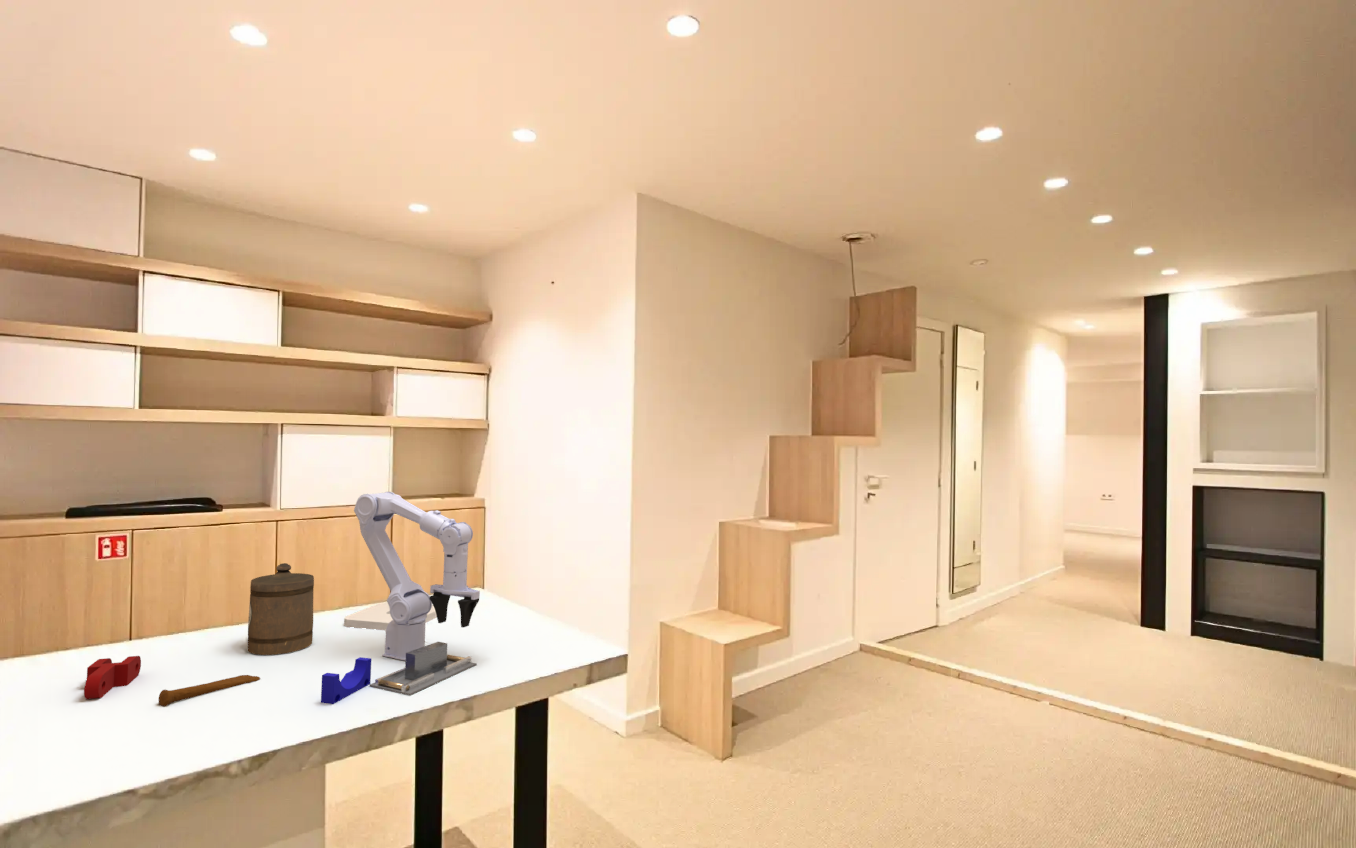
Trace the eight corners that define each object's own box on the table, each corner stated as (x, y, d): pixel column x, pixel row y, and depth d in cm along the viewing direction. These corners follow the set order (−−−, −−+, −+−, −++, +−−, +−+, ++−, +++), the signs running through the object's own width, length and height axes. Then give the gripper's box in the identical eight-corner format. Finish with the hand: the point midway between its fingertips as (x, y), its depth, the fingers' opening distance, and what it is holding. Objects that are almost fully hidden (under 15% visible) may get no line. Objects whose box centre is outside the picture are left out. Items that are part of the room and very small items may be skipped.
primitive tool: (247, 676, 153) (247, 661, 153) (262, 681, 151) (263, 665, 151) (154, 706, 136) (155, 689, 136) (170, 711, 134) (171, 694, 134)
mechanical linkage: (101, 678, 150) (102, 656, 150) (140, 674, 152) (141, 653, 153) (68, 704, 135) (70, 680, 135) (112, 700, 138) (113, 676, 138)
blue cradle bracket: (353, 682, 151) (354, 656, 151) (370, 684, 150) (371, 658, 150) (314, 703, 139) (315, 674, 139) (333, 705, 138) (334, 676, 138)
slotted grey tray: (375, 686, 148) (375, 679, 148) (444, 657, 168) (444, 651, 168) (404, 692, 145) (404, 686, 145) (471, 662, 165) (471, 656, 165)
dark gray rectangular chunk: (404, 678, 153) (405, 652, 153) (437, 666, 162) (438, 641, 162) (414, 681, 151) (415, 655, 151) (446, 668, 160) (447, 643, 160)
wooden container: (276, 636, 183) (279, 557, 183) (324, 640, 180) (327, 560, 181) (232, 653, 168) (236, 567, 168) (285, 658, 166) (288, 570, 166)
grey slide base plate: (369, 686, 148) (369, 684, 148) (439, 657, 169) (439, 656, 169) (409, 695, 144) (410, 693, 144) (476, 665, 164) (476, 663, 164)
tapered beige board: (338, 628, 194) (339, 618, 194) (384, 609, 215) (384, 601, 215) (406, 633, 190) (407, 624, 190) (445, 614, 212) (446, 605, 212)
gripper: (488, 571, 168) (486, 624, 168) (445, 565, 174) (443, 616, 173) (469, 576, 162) (467, 631, 161) (424, 569, 167) (422, 623, 167)
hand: (453, 624), depth 167 cm, fingers open, 7 cm apart
